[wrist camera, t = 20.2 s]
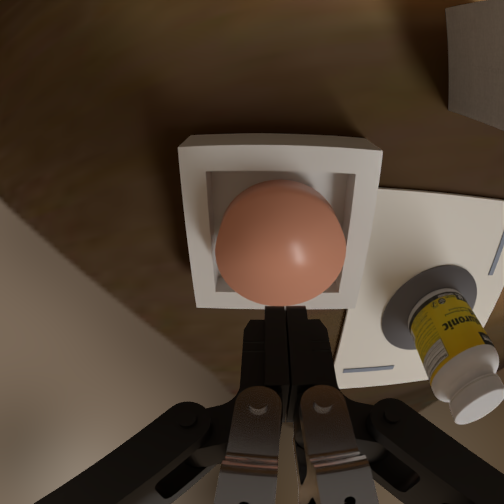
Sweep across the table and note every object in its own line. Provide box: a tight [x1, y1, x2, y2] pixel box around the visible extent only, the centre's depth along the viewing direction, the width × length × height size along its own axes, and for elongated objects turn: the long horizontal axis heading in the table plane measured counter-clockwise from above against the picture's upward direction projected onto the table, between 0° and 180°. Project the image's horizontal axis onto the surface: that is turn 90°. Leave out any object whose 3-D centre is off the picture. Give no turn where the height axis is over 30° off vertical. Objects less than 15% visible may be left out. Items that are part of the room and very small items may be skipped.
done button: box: [215, 179, 346, 306], centre depth 17 cm, size 6×6×2 cm
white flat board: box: [334, 187, 504, 389], centre depth 23 cm, size 20×15×1 cm
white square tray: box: [178, 133, 383, 309], centre depth 19 cm, size 10×10×3 cm
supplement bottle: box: [408, 288, 504, 424], centre depth 19 cm, size 5×5×10 cm
